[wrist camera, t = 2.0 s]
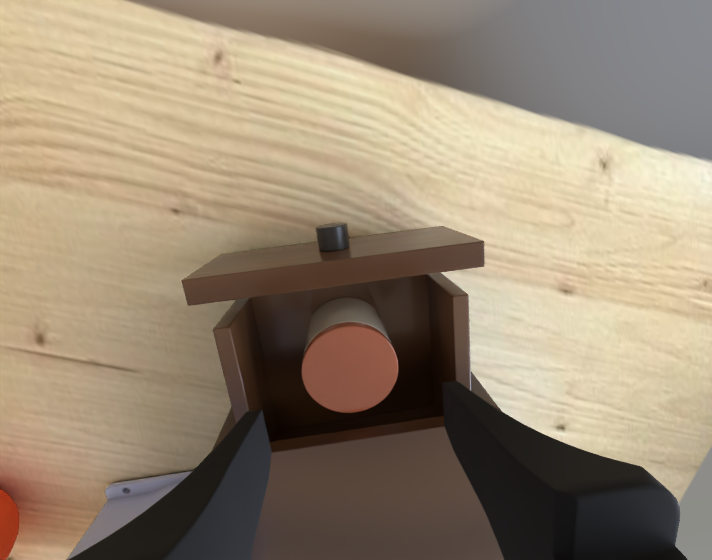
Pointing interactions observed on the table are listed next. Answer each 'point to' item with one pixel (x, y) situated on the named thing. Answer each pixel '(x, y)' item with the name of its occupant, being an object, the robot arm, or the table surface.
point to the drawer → (328, 282)
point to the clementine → (7, 524)
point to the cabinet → (372, 496)
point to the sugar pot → (348, 356)
